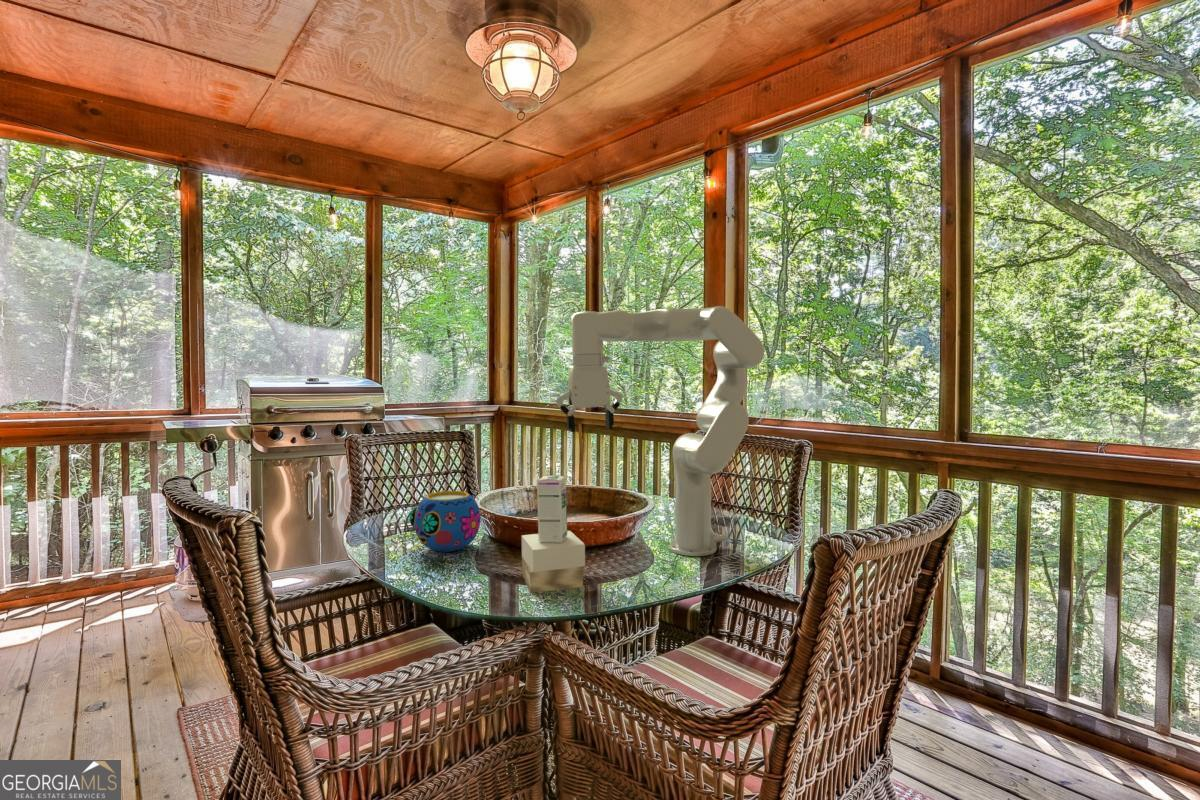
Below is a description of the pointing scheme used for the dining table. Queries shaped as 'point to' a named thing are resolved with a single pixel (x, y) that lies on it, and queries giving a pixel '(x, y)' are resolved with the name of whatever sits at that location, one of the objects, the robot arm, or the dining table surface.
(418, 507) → the ceramic pot
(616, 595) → the dining table surface
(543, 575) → the tower base slab
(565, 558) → the tower top slab
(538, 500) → the syrup box
